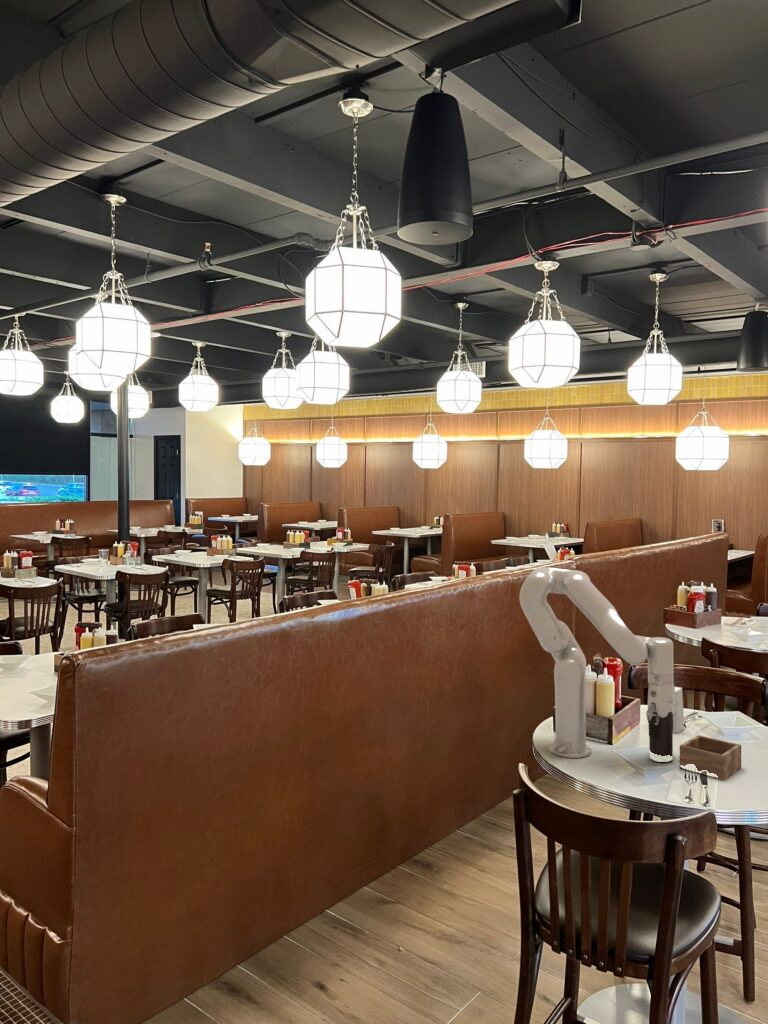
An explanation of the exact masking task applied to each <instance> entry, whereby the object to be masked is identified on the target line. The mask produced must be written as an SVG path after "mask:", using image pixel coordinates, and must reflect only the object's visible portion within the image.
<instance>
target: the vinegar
mask: <svg viewBox="0 0 768 1024" xmlns="http://www.w3.org/2000/svg"><path fill="white" fill-rule="evenodd" d="M653 714H657V713H654V712H653ZM657 715H658V714H657ZM654 719H655V720H656V717H654ZM658 725H659V734H660V737H659V738H655V737H651V736H649V735H648V737H649V738H648V740H649V749H650V751H651V752H652V753H654V754H657V755H661V756H665V755H666V756H667V755H670V756H673V753H674V752H673V751H674V750H673V749H674V746H673V737H674V736H673V735H674V734H673V714H672V712H669V713H668V714H667V716H666V717H664V718H661V717H660V719H659V723H658ZM673 757H674V756H673Z"/></svg>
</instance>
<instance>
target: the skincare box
mask: <svg viewBox="0 0 768 1024" xmlns="http://www.w3.org/2000/svg"><path fill="white" fill-rule="evenodd" d="M674 688H675V700H676V711H675V712H674V713H673V714H674V717H673V733H674V734H678V733H680V732H683V731H685V730H684V729H685V720H684V719H685V717H684V699H683V698H684V696H683V687H679V686H674Z"/></svg>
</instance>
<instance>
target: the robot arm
mask: <svg viewBox="0 0 768 1024" xmlns="http://www.w3.org/2000/svg"><path fill="white" fill-rule="evenodd" d="M549 593H550V594H558V595H566V596H567V598H569V600H570V601H571V602H572V603H573V604H574V605H575V606H576V607H577V608H578V609H579V610H580V611H581V613H583V615H584V616H585V617H586V618H587V619H588V620H589V621H590V622H591V623H592V625H593V627H595V628H596V629H595V630H597V631H598V632H599V633H600V634H601V635H602V637H603V638H604V639H605V640H606V641H607V642H608V644H609V645H610V646H611V647H612V649H614V651H615V652H616V653H617V654H618V655H619V656H620V657H621V658H622V659H623V660H624V661H625V662H626V663H628V664H630V665H632V666H639V665H642V664H643V663H644V662H645V661H647V683H648V688H647V689H648V691H647V710H646V712H645V713H646V720H647V724H648V737H649V736H651V737H655V738H659V737H660V734H659V725H658V723H659V719H660V717H661V718H664V717H666V716H667V714H668V713H669V712H672V714H673V713H674V712H675V711H676V700H675V688H674V687H675V682H674V678H675V677H674V670H675V669H674V642H673V640H672V639H670V638H668V637H662V636H661V637H659V636H655V637H648V636H644V635H643V636H642V635H636V634H634V633H633V631H631V630H630V629H629V627H628V626H627V625H626V623H625V622H624V621H623V620H622V618H621V616H620V615H619V613H618V611H617V609H616V608H615V606H614V605H613V604H612V603H611V602H610V601H609V600H608V599H607V598H606V596H605V595H603V594H602V592H600V591H599V590H598V587H596V586H595V585H594V583H592V581H591V579H590V576H589V574H587V573H586V572H584V571H581V570H578V569H577V570H576V569H575V570H574V569H565V568H557V567H556V568H555V567H547V566H541V567H537V568H535V569H534V570H532V571H531V572H530V573H529V574H528V575H527V577H526V579H525V580H524V581H523V583H522V585H521V587H520V591H519V604H520V607H521V609H522V612H523V615H524V616H525V617H526V620H527V622H528V624H529V625H530V628H531V629H532V632H534V635H535V636H536V637H537V639H538V642H539V645H540V646H541V647H542V649H543V650H544V651H546V652H547V653H549V654H550V655H551V656H552V658H553V660H554V662H555V664H554V668H553V675H554V676H553V681H554V703H555V704H554V705H555V707H554V710H555V714H554V715H555V739H554V743H553V744H551V745H549V746H548V750H549V751H550V752H551V753H553V754H554V755H557V756H559V757H563V758H567V759H568V758H570V759H576V758H577V759H579V758H584V757H585V758H586V757H588V756H590V755H591V753H592V748H591V747H590V746H589V745H587V717H586V715H587V708H586V707H587V706H586V701H587V700H586V697H587V696H586V670H587V658H586V655H585V654H584V652H583V650H582V649H581V646H580V644H579V643H578V642H577V640H576V638H575V637H574V635H573V633H572V631H571V629H570V628H569V626H568V625H567V624H566V623H565V622H564V621H562V620H559V619H558V618H557V616H556V615H555V613H554V610H553V608H552V607H551V606H550V604H549V603H548V601H547V596H548V594H549ZM653 712H654V713H657V714H658V715H657V714H653ZM654 717H656V720H655V719H654ZM673 717H674V714H673Z"/></svg>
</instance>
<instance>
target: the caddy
mask: <svg viewBox="0 0 768 1024" xmlns="http://www.w3.org/2000/svg"><path fill="white" fill-rule="evenodd" d="M687 764H694V765H695V766H696V768H697V770H698V771H702V770H707V771H708V772H709V773H714V774H716V775H717V776H718V778H719V779H718V780H720V781H721V780H722V781H725V780H726V779H728V778H730V776H732V775H733V774H735V773H737V772H738V771H739V770H741V769H742V744H739V743H734V742H729V741H725V740H721V739H716V738H712V737H708V736H704V735H699V734H697V735H696V736H694V737H692V738H691V739H689V740H687V741H685V742H684V743H682V744H680V745H679V766H680V765H683V766H685V765H687Z"/></svg>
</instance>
